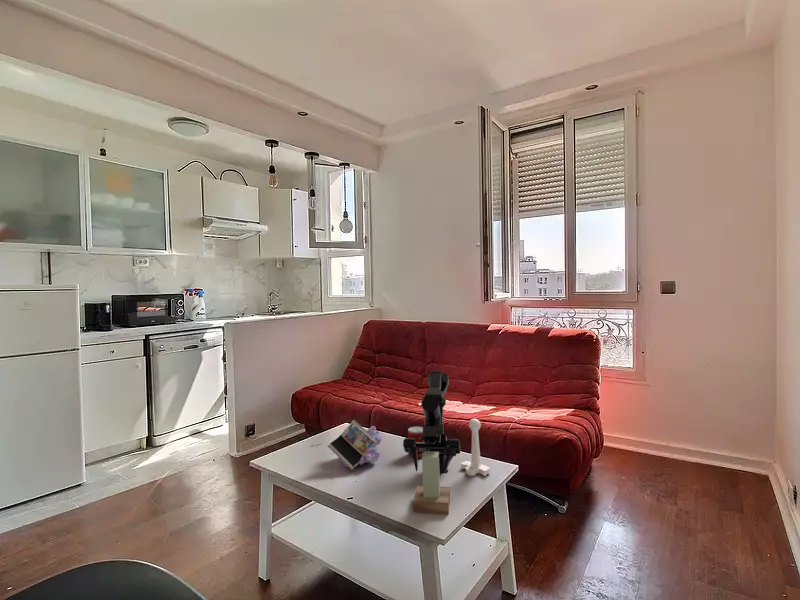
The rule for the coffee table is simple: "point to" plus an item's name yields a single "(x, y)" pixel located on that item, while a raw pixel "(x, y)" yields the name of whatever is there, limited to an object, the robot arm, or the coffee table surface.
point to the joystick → (475, 453)
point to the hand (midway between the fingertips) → (430, 471)
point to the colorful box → (357, 445)
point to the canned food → (417, 438)
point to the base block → (432, 502)
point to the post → (431, 474)
